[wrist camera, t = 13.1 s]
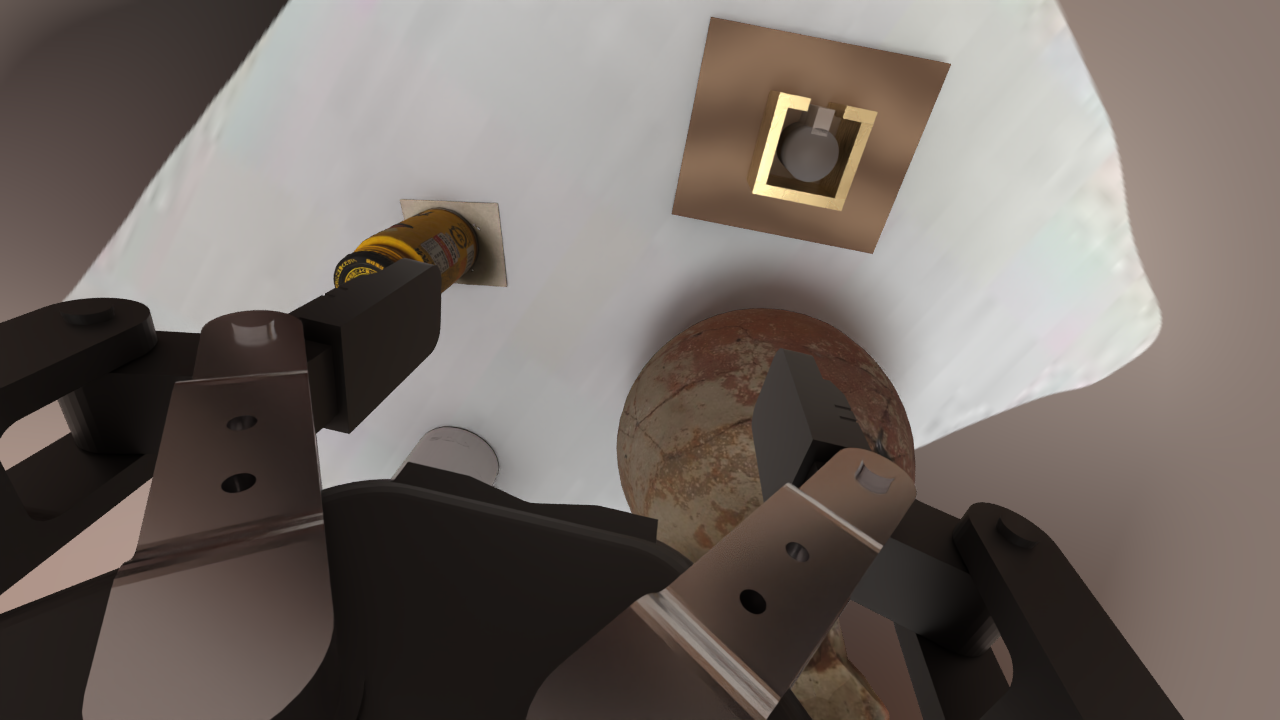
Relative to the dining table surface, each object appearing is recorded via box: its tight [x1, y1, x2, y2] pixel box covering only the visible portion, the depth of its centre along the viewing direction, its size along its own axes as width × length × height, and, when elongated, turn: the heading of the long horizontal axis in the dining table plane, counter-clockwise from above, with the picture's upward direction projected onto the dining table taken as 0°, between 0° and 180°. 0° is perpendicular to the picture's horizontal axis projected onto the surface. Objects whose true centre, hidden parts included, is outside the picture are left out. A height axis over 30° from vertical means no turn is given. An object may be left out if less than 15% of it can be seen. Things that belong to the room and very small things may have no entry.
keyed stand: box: [672, 17, 951, 254], centre depth 35 cm, size 13×16×6 cm
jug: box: [617, 308, 915, 720], centre depth 35 cm, size 22×22×30 cm
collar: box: [746, 90, 878, 211], centre depth 34 cm, size 6×6×5 cm
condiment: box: [334, 200, 507, 293], centre depth 39 cm, size 7×8×12 cm
